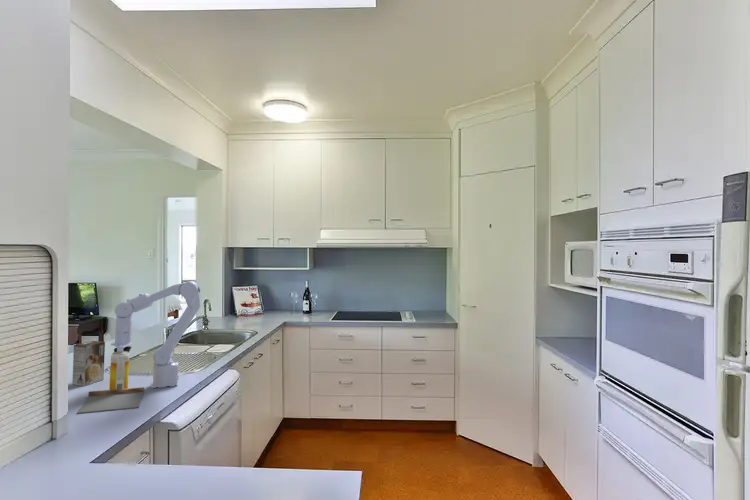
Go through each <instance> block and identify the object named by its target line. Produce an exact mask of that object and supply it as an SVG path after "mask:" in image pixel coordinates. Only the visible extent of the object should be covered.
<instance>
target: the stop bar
mask: <svg viewBox="0 0 750 500" xmlns="http://www.w3.org/2000/svg"><path fill="white" fill-rule="evenodd" d="M135 392H144V393H145V387H144V386H143V387H142V386H140V387H132V388H131V387H128V389H115V390H109V389H103V390H93V391H92V390H90V391H88V393H87V394H88V395H87V397H88V396H99V395H111V394H123V393H135Z"/></svg>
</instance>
